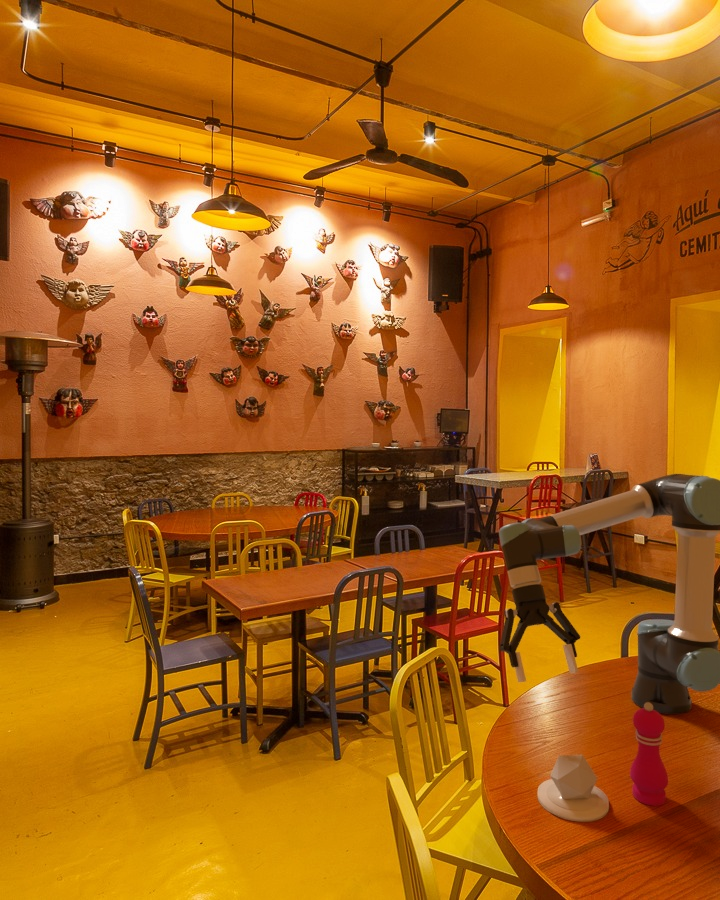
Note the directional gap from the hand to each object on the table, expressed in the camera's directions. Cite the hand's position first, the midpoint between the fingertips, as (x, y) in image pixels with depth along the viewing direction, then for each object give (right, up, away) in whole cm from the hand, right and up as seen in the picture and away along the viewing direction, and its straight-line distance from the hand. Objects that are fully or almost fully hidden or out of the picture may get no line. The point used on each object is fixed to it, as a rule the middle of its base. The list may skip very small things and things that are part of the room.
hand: (548, 677), depth 145 cm
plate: (0, -20, -16) cm, 25 cm away
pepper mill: (+16, -20, -15) cm, 30 cm away
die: (0, -19, -16) cm, 25 cm away
